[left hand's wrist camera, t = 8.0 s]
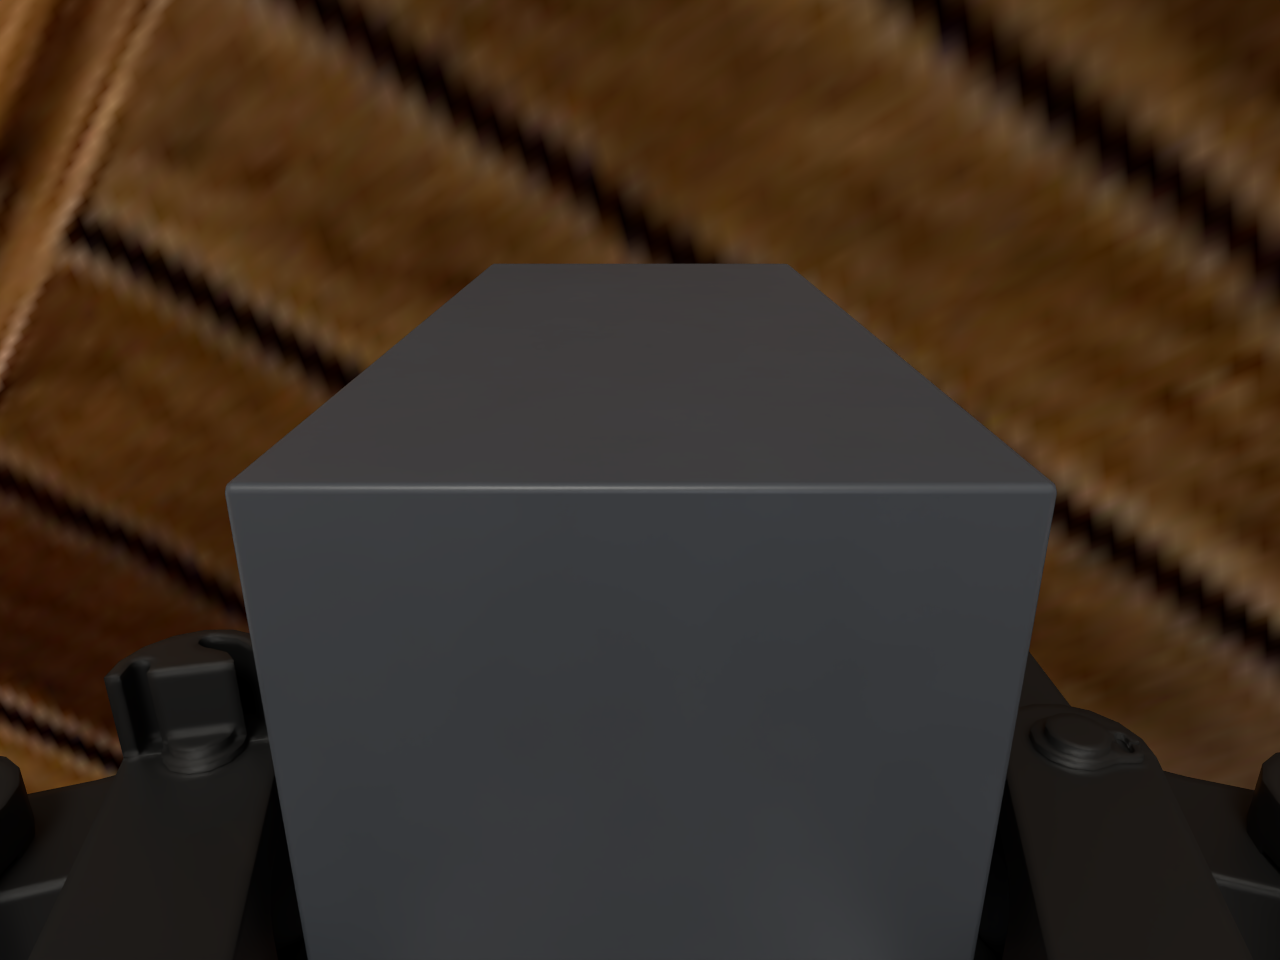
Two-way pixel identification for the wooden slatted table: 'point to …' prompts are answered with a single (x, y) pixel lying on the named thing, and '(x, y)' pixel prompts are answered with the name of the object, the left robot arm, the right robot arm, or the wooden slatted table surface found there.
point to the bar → (640, 630)
